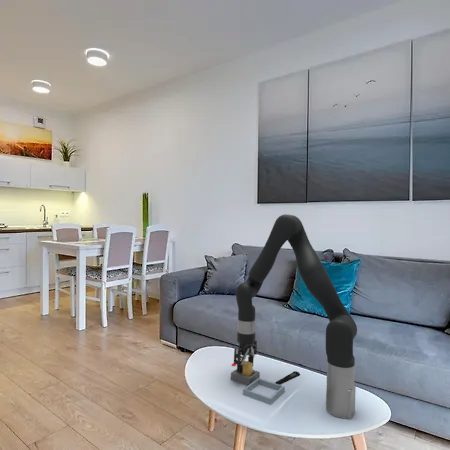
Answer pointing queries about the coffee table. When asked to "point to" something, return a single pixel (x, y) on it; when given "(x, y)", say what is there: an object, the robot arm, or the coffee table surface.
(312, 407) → the coffee table surface
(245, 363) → the block
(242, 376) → the block
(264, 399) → the tray
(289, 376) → the electric trimmer
